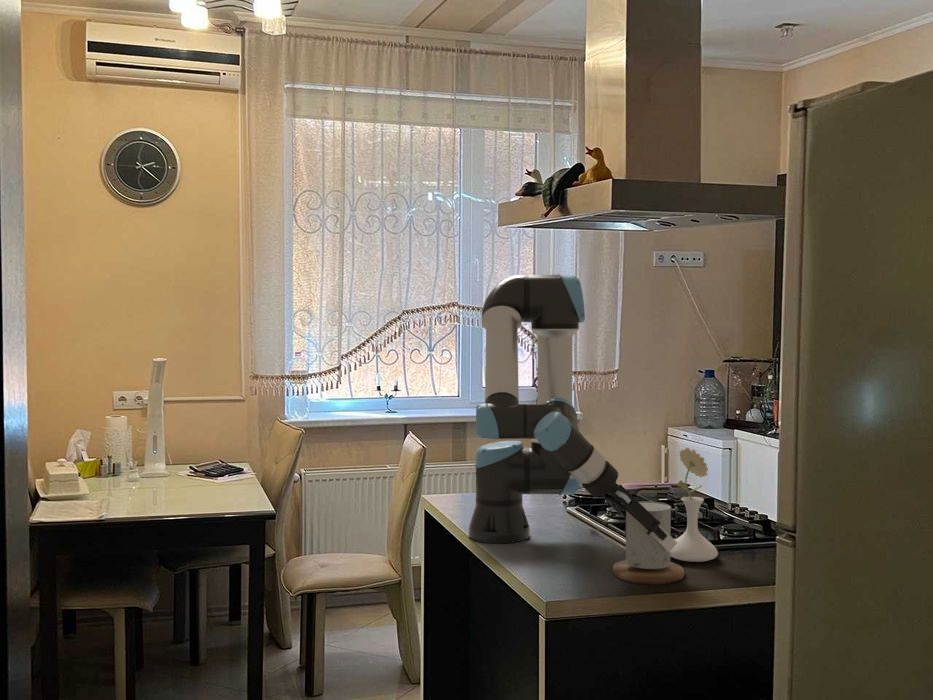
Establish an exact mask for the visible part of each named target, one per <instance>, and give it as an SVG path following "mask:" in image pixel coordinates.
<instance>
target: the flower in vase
mask: <svg viewBox="0 0 933 700" xmlns="http://www.w3.org/2000/svg"><path fill="white" fill-rule="evenodd" d="M679 460H680V461H681V462H682V463H683V464H682V465H683V466H684V467H685V468H686V469H687V471H686V475H685V479H684V481H683V480H678V481H679V482H678V483H677V487H679V488H680V489H683V490H684V491H687V493H688V496H683V497H681V498H680V499H681V500H682V502H683V504H684V506H685V509H686V516H687V520H686V521H687V523H686V530H685V531H684V532H683V534H681V535H680V536H678V537H677V538H676V539H674V540H675V541H676V542H677V544H676V545H675V546H674V548H673V549H672V550H671V551H670V558H673V559H675V560H678V561H683V562H690V563H692V562H693V563H695V562H696V563H702V562H703V563H704V562H709V561H711V560H714V559H715V558H717V556H718V555H719V552H718V549H717V548H716V546H715V545H714V544H712V543H711V541H709V540H708V539H706V538H705V537H704V536H703V535H702V533H700V531H699V527H698V525H699V524H698V517H699V510H700V508H701V505H702V504H703V502H704V501H705V499H704V498H702V497H699V496H692V494H691V493H693V492H695V491H696V490H698V489H700V488H702V485H699V487H696V488H693V489H691V490H689V488H688V483H687V482H688V480H687V479H688V475H689V472H690V473H691V474H693V475H695V476H696V477H700V478H702V477H706V476H708V473H707V472H708V470H709V468H708V466H707V463H706V462H705V458H704V457H702V456H701V454H700V453H699V452H698V453H697V452H696V450H695V449H690V448H689V447H685V448H684V449H681V450H679Z"/></svg>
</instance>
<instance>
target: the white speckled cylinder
mask: <svg viewBox="0 0 933 700" xmlns="http://www.w3.org/2000/svg"><path fill="white" fill-rule="evenodd" d="M638 502H639V503H640V504H641V505H642V506H643V507H644V508H645V509H646V510H647V511H648V512H649V513H650V514H652V515H653V516H654V517H655V518H656V519H657V520H658V521H660V523H661V524H660V525H661V527H662V528H663V529H664V530H665V531H666V532H667V533H668V534H669V535H670V536H671V530H672V529H671V521H672V520H671V518H672V517H671V516H672V514H671V513H672V512H671V511H672V505H669V504H667V503H665V502H661V501H660V502H658V501H650V500H649V501H647V500H645V501H643V500H641V501H638ZM647 532H648V530H647V529H646V528H645V527H644V526H643V525H642V524H641V523H639V522H638V521H637V520H636V519H635V518H634V517H633V516H632V515H630V514H629V513H628V512H627V511H626V519H625V562H626V564H628V565H630V566H633V567H637V568H643V569H660V568H665V567H668V566H670V564H671V563H670V562H671V556H670V552H667V551H666V550H665V549H664V548H663V546H662V545H661V544H660V543H659V542H658V541H657V540H656V539H655V538H654V537H653V536H652V535H651V534H649V535H648V534H647Z"/></svg>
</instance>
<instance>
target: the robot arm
mask: <svg viewBox="0 0 933 700" xmlns="http://www.w3.org/2000/svg"><path fill="white" fill-rule="evenodd" d="M584 301H585V300H584V294H583V289H582V284H581V281H580V279H579V278H578V277H577V276H576V275H571V274H560V273H559V274H517V275H511V276H509V277H507V278H505V279H503V280H502V281H500V282H499V283H498V284H496V285H495V287H494V288H493V289H492V290H491V291H490V293H488V295H487V298H486V299H485V300H484V302H483V305H482V311H481V325H482V327H483V328H484V330H485V361H484V362H485V365H484V366H485V367H484V369H485V370H484V374H485V375H484V377H485V380H484V381H485V383H484V384H485V385H484V403H479V404H477V405H476V409H475V432H476V436H477V437H478V438H480V439H488V440H489V439H490V440H499V439H500V440H501V439H502V441H495V442H490V443H486V444H483V445H481V446H479V447H478V449H477V450H476V453H475V454H476V455H475V464H474V468H475V506H474V510H473V513H472V515H471V519H470V521H469V525H468V537H469V538H470V539H471V540H475V541H477V542H482V543H483V542H484V543H490V544H491V543H492V544H506V543H509V544H510V543H516V542H521V541H524V540H527V539H528V538H530V536H531V535H530V534H531V533H530V524H529V521H528V518H527V515H526V512H525V509H524V506H523V504H524V503H523V495H558V496H563V495H574V494H576V493H577V492H578V491H579V490H580V488H581V486H582V487H583V489H585V491H586V492H588V494H589V495H590V496H591V497H594V498H595V497H596V498H598V497H601V496H602V497H603V499H605V500H606V501H607V503H608V504H609V505H610V507H612V508H613V510H615V511H616V513H617V514H618V515H619V516H622V517H623V519H625V520H626V511H627V512H628V513H629V514H630V515H632V516H633V517H634V518H635V519H636V520H637V521H638V522H639V523H641V524H642V525H643V526H644V527H645V528H646V529H647V530H648V532H647V534H648V535H649V534H651V535H652V536H653V537H654V538H655V539H656V540H657V541H658V542H659V543H660V544H661V545H662V546H663V548H664V549H665V550H666V551H667V552H670V551H671V550H672V549H673V548H674V546H675V545H676V544H677V542H676V541H675V540H676V539H675V538H673V536H671V534H670V535H669V534H668V533H667V532H666V531H665V530H664V529H663V528H662V527H661V525H660V524H661V523H660V521H658V520H657V519H656V518H655V517H654V516H653V515H652V514H650V513H649V512H648V511H647V510H646V509H645V508H644V507H643V506H642V505H641V504H640V503H639V501H638V500H637V499H636V498H635V497H634V496H633V495H632V494H631V492H630V491H628V490H626V488H625V487H624V486H622V485H621V484H618V483H617V480H618V478H619V471H618V470H617V469H616V468H615V467H614V466H613V464H612V463H610V461H608V460H606V458H605V456H604V455H602V454H601V452H600V451H599V450H598V449H597V448H596V447H595V446H594V445H593V444H591V442H589V441H588V439H587V438H586V437H585V436H584V435H583V434H582V433H581V432H580V428H579V423H578V414H577V412H576V410H575V407H574V405H573V346H574V345H573V341H574V340H573V337H574V336H575V335H576V333H577V332H578V331H579V330H580V329H579V327H580V325H579V324H582V323H584V322H585V320H586V316H585V315H586V314H585V302H584ZM522 323H530V324H531V325H530V326H531V327H530V328H531V331H532V332H533V333H534V334H535V335H536V338H537V403H535V404H529V403H528V404H527V403H522V404H521V403H519V402H520V400H519V399H520V398H519V397H520V396H519V393H520V392H519V345H518V344H519V343H518V336H519V335H518V332H519V331H518V330H519V328H520V327H521V325H522ZM506 439H507V440H506ZM508 439H510V440H508ZM511 439H516V440H511ZM517 439H521V441H520V440H517ZM522 439H524V440H525V439H527V440H530V441H531V442H530V443H531V446H528V447H526V446H524V444H523V442H522Z"/></svg>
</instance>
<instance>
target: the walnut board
mask: <svg viewBox="0 0 933 700" xmlns="http://www.w3.org/2000/svg"><path fill="white" fill-rule="evenodd" d="M625 560H626V559H625ZM625 560H624V559H623V560H620V561H618V562H616V563H614V564H613V565H612V574H613V576H615V577H616V578H617V579H620V580H622V579H623V581H625V580H626V582H629V581H630V583H636V584H641V585H643V584H644V585H663V584H664V585H665V584H672V583H671V582H673V583H676V581H677V582H679V581H682V580H683V579H684V577H685V569H684V568H683V567H682V566H681V565H680V564H678V563H675V562H671V561H670V563H671V564H670V566H668V567H665V568H660V569H643V568H637V567H633V566H630V565H628V564H626V562H625Z"/></svg>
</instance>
